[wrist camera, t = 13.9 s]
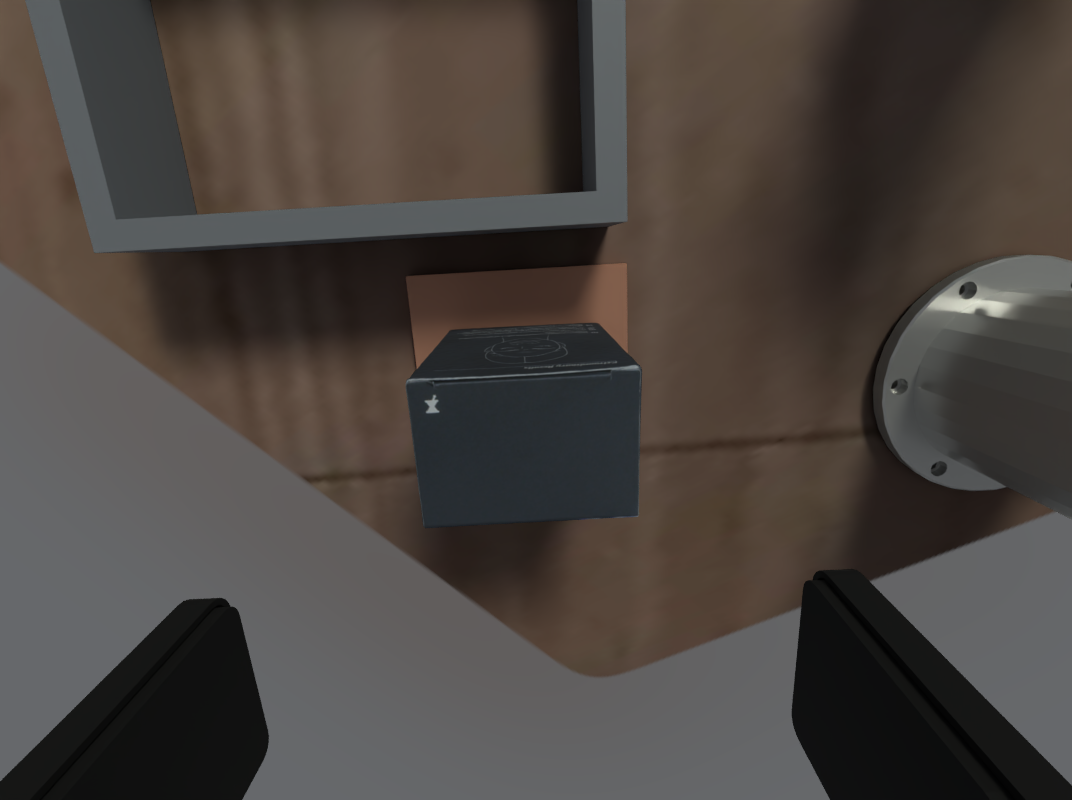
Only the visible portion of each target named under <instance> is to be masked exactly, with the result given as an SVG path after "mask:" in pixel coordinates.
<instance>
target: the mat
mask: <svg viewBox="0 0 1072 800" xmlns="http://www.w3.org/2000/svg"><path fill="white" fill-rule="evenodd" d="M406 283H407V291H408V300H409V308H410V316H411V324H412V333H413V341H414V349H415V358H416V366H417V369H418V367H419V366H420V365H421V363H422V362H423V361H424V360H425V359H426V358H427V357H428V355H429V354H430V353H431V352H432V351H433V350H434V348H435V347H436V346H437V345H438V344H439V343H440V341H441V340H442V339H443V338H444V337H445V335H447V333H448V332H449V331H450V330H455V329H472V328H491V327H509V326H530V325H549V324H574V323H599V324H600V325H601V326H602V327H603V328H604V329H605V330H606V331H607V333H608V334H609V335H610V336H611V337H612V338H613V339H614V340H615V341H616V342H617V343H618V344H619V345H620V346H621V347H622V348H623V349H624V350H625V351H626V352H627V353H628V343H627V263H617V264H600V265H582V266H565V267H548V268H531V269H514V270H497V271H480V272H463V273H445V274H428V275H411V276H406Z"/></svg>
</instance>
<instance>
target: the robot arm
mask: <svg viewBox="0 0 1072 800" xmlns="http://www.w3.org/2000/svg"><path fill="white" fill-rule="evenodd" d="M873 407H874V414H875V418H876V422H877V426H878V429H879V431H880V433H881V435H882V437H883V439H884V441H885V443H886V445H887V447H888V448H889V449H890V450H891V452H892V453H893V454H894V455H895V456H896V458H897V459H898V460H899V461H900V462H902V463H903V464H904V465H906V466H907V467H908V468H910V469H911V470H912V471H914V472H915V473H917V474H919V475H920V476H922V477H924V478H926V479H927V480H929V481H931V482H934V483H937V484H940V485H943V486H946V487H949V488H952V489H960V490H968V491H984V490H996V489H1001V488H1005V487H1008V488H1010V489H1012V490H1014V491H1016V492H1018V493H1020V494H1022V495H1024V496H1026V497H1028V498H1030V499H1032V500H1034V501H1036V502H1038V503H1040V504H1042V505H1044V506H1046V507H1048V508H1050V509H1052V510H1054V511H1056V512H1058V513H1060V514H1062V515H1064V516H1066V517H1068V518H1070V519H1072V261H1070V260H1066V259H1062V258H1058V257H1054V256H1041V255H1013V256H1001V257H997V258H993V259H988V260H984V261H980V262H977V263H975V264H972V265H970V266H968V267H966V268H963V269H961V270H959V271H956V272H954V273H953V274H951V275H950V276H948V277H946V278H945V279H943V280H942V281H940V282H939V283H937V284H936V285H934V286H933V287H931V288H930V289H929V290H928V291H927V292H926V293H925V294H924V295H922V296H921V297H920V298H919V299H918V300H917V301H916V302H915V303H914V304H913V305H912V306H911V307H910V308H909V310H908V311H907V312H906V313H905V314H904V316H903V317H902V318H901V319H900V321H899V322H898V323H897V325H896V326H895V328H894V330H893V332H892V333H891V335H890V337H889V338H888V340H887V342H886V344H885V346H884V348H883V351H882V354H881V357H880V359H879V362H878V365H877V368H876V374H875V380H874V386H873ZM793 693H794V694H793V703H792V720H793V725H794V729H795V732H796V735H797V737H798V739H799V741H800V743H801V745H802V747H803V749H804V751H805V753H806V755H807V757H808V759H809V760H810V762H811V764H812V766H813V768H814V770H815V772H816V774H817V776H818V777H819V779H820V781H821V783H822V785H823V787H824V789H825V791H826V793H827V794H828V796H829V798H830V800H1072V786H1071V784H1070V783H1069V782H1068V781H1067V780H1066V779H1065V778H1063V776H1062V775H1061V774H1060V773H1059V772H1058V771H1057V770H1056V769H1055V768H1054V767H1053V766H1052V765H1051V764H1050V763H1049V762H1048V761H1047V760H1046V759H1045V758H1044V757H1043V756H1042V755H1041V754H1040V753H1039V752H1038V751H1037V750H1036V749H1035V748H1034V747H1033V746H1032V745H1031V744H1030V743H1029V742H1028V741H1027V740H1026V739H1025V738H1024V737H1023V736H1022V735H1021V734H1020V733H1019V732H1018V731H1017V730H1016V729H1015V728H1014V727H1013V726H1012V725H1011V724H1010V723H1009V722H1008V721H1007V720H1006V719H1005V718H1004V717H1003V716H1002V715H1001V714H1000V713H999V712H998V711H997V710H996V709H995V708H994V707H993V706H992V705H991V704H990V703H989V702H988V701H987V700H986V699H985V698H984V697H983V696H982V695H981V694H980V693H979V692H978V691H977V690H976V689H975V688H974V686H972V684H970V682H969V681H968V680H967V679H966V678H964V676H963V675H962V674H961V673H959V671H957V670H956V668H955V667H954V666H953V665H952V664H951V663H950V662H949V661H948V660H947V659H946V658H945V657H944V656H943V655H942V654H941V653H940V652H939V651H938V650H937V649H936V648H935V647H934V646H933V645H932V644H931V643H930V642H929V641H928V640H927V639H926V638H925V637H924V636H923V635H922V634H921V633H920V632H919V631H918V630H917V629H916V628H915V627H914V626H913V625H912V624H911V623H910V622H909V621H908V620H907V619H906V618H905V617H904V616H903V615H902V614H901V613H900V612H899V611H898V610H897V609H896V608H895V607H894V606H893V605H892V604H891V603H890V602H889V601H888V600H887V599H886V598H885V597H884V596H883V595H882V594H881V593H880V592H879V591H878V590H877V589H876V588H875V587H874V586H873V585H872V584H871V583H870V582H869V581H868V580H867V579H866V578H865V577H864V575H863V574H861V573H860V572H859V571H857V570H854V569H845V570H823V571H818V572H816V573H815V575H814V577H813V580H809V581H806V582H805V584H804V587H803V596H802V606H801V617H800V629H799V639H798V649H797V660H796V671H795V682H794V692H793ZM268 739H269V735H268V729H267V725H266V721H265V717H264V713H263V709H262V704H261V700H260V696H259V692H258V688H257V684H256V681H255V677H254V672H253V668H252V664H251V660H250V656H249V651H248V647H247V643H246V640H245V635H244V631H243V627H242V623H241V619H240V615H239V612H238V610H237V609H236V608H235V607H230V605H229V603H228V602H227V601H226V600H225V599H223V598H211V599H189V600H186V601H183V602H182V603H181V604H179V605H178V606H177V607H176V608H175V609H174V610H173V611H172V612H171V613H170V614H169V615H168V616H167V617H166V618H165V619H164V620H163V621H162V622H161V623H160V624H159V625H158V626H157V627H156V628H155V629H154V630H153V631H152V632H151V633H150V634H149V635H148V636H147V637H146V638H145V639H144V640H143V641H142V642H141V643H140V644H139V645H138V646H137V647H136V648H135V649H134V650H133V651H132V652H131V653H130V654H129V655H128V656H127V657H126V658H125V659H124V660H123V661H121V662H120V663H119V664H118V666H116V667H115V668H114V669H113V670H112V671H111V672H110V673H109V674H108V675H107V676H106V677H105V678H104V679H103V680H102V681H101V682H100V683H99V684H98V685H97V686H96V687H95V688H94V689H93V690H92V691H91V692H90V693H89V694H88V695H87V696H86V697H85V698H84V699H83V700H82V701H81V702H80V703H79V704H78V705H77V706H76V707H75V708H74V709H73V710H72V711H71V712H70V713H69V714H68V715H67V716H66V717H65V718H64V719H63V720H62V721H61V722H60V723H59V724H58V725H57V726H56V727H55V728H54V729H53V730H52V731H51V732H50V733H49V734H48V735H47V736H46V737H45V738H44V739H43V740H42V741H41V742H40V743H39V744H38V745H37V746H36V747H35V748H34V749H33V750H32V751H31V752H30V753H29V754H28V755H27V756H26V757H25V758H24V759H23V760H22V761H20V762H19V763H18V764H17V766H15V767H14V768H13V769H12V770H11V771H10V772H9V773H8V774H7V775H6V776H5V777H4V778H3V780H2V781H0V800H242V799H243V797H244V795H245V793H246V792H247V790H248V788H249V786H250V784H251V782H252V780H253V779H254V777H255V775H256V773H257V771H258V769H259V767H260V766H261V764H262V762H263V760H264V757H265V755H266V752H267V748H268V742H269V741H268Z"/></svg>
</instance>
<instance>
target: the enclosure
mask: <svg viewBox="0 0 1072 800" xmlns="http://www.w3.org/2000/svg"><path fill="white" fill-rule="evenodd" d="M25 1H26V5H27V8H28V12H29V16H30V19H31V23H32V27H33V30H34V34H35V38H36V41H37V45H38V49H39V52H40V56H41V60H42V63H43V67H44V70H45V74H46V78H47V81H48V85H49V89H50V92H51V96H52V100H53V103H54V107H55V111H56V114H57V118H58V122H59V125H60V129H61V133H62V136H63V140H64V144H65V147H66V151H67V155H68V158H69V162H70V165H71V169H72V173H73V176H74V180H75V184H76V187H77V191H78V195H79V198H80V202H81V206H82V209H83V213H84V217H85V220H86V224H87V228H88V231H89V235H90V239H91V242H92V246H93V250H94V253H125V252H187V251H204V250H221V249H238V248H255V247H272V246H289V245H306V244H323V243H340V242H357V241H374V240H391V239H408V238H425V237H442V236H459V235H476V234H493V233H510V232H527V231H544V230H561V229H578V228H595V227H609V226H613V225H616V224H620V223H623V222H627V121H626V9H625V0H577V7H578V40H579V74H580V107H581V140H582V173H583V192H572V193H555V194H538V195H521V196H504V197H488V198H471V199H454V200H437V201H420V202H403V203H387V204H370V205H353V206H336V207H319V208H303V209H286V210H269V211H252V212H235V213H218V214H202V215H197V212H196V208H195V203H194V199H193V194H192V190H191V185H190V180H189V176H188V171H187V167H186V162H185V158H184V153H183V148H182V144H181V139H180V135H179V130H178V125H177V121H176V116H175V112H174V107H173V103H172V98H171V93H170V89H169V84H168V80H167V75H166V71H165V66H164V61H163V57H162V52H161V48H160V43H159V39H158V34H157V29H156V25H155V20H154V16H153V11H152V7H151V2H150V0H25Z"/></svg>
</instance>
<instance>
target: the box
mask: <svg viewBox="0 0 1072 800" xmlns="http://www.w3.org/2000/svg"><path fill="white" fill-rule="evenodd" d="M641 383H642V369H641V367H640V365H638V364H637V363H636V362H635V360H634V359H633V358H632V357H631V356H630V355H629V354H628V353H627V352H626V351H625V350H624V349H623V348H622V347H621V346H620V345H619V344H618V343H617V342H616V341H615V340H614V339H613V338H612V337H611V336H610V335H609V334H608V333H607V331H606V330H605V329H604V328H603V327H602V326H601V325H600V324H599V323H574V324H549V325H530V326H509V327H491V328H472V329H455V330H450V331H449V332H448V333H447V335H445V337H444V338H443V339H442V340H441V341H440V343H439V344H438V345H437V346H436V347H435V348H434V350H433V351H432V352H431V353H430V354H429V355H428V357H427V358H426V359H425V360H424V361H423V362H422V363H421V365H420V366H419V367H418V369H416V371H415V372H414V373H413V374H412V375H411V377H410V378H409V379H407V381H406V393H407V399H408V407H409V414H410V421H411V430H412V438H413V445H414V454H415V462H416V469H417V478H418V487H419V494H420V502H421V509H422V519H423V525H424V527H425V528H437V527H452V526H470V525H489V524H508V523H525V522H545V521H563V520H582V519H600V518H621V517H637V516H638V515H639V459H640V417H641Z"/></svg>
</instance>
